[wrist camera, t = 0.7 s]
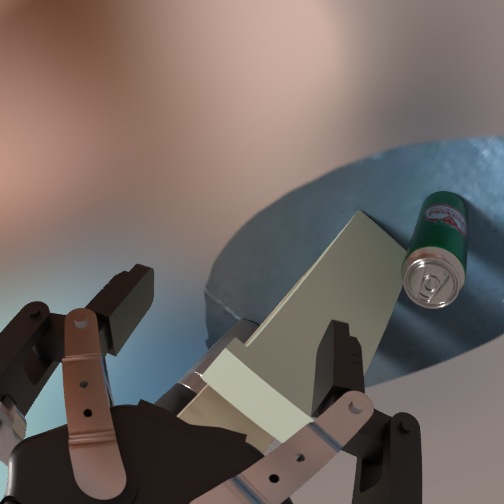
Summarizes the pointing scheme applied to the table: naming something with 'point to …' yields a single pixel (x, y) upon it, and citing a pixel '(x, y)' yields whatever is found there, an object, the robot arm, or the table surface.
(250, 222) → the table surface
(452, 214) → the soda can
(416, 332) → the table surface
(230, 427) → the high stand
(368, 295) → the low stand
